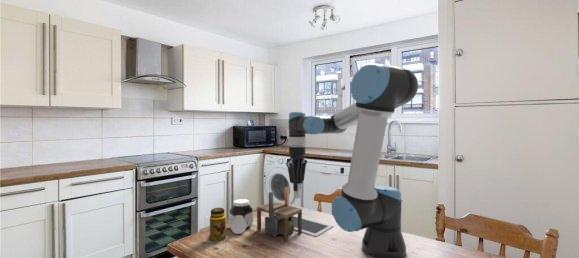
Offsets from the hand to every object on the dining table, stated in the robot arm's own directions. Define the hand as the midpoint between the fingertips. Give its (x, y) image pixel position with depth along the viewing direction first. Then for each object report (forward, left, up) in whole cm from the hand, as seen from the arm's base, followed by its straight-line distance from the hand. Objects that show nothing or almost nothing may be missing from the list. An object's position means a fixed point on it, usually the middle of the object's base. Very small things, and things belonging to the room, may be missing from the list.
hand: (297, 197), depth 124 cm
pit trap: (-2, 0, -12) cm, 12 cm away
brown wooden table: (0, +12, -12) cm, 17 cm away
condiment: (+15, +33, -12) cm, 39 cm away
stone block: (0, +12, -12) cm, 17 cm away
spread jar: (+15, +20, -12) cm, 28 cm away
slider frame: (0, +12, -12) cm, 17 cm away
